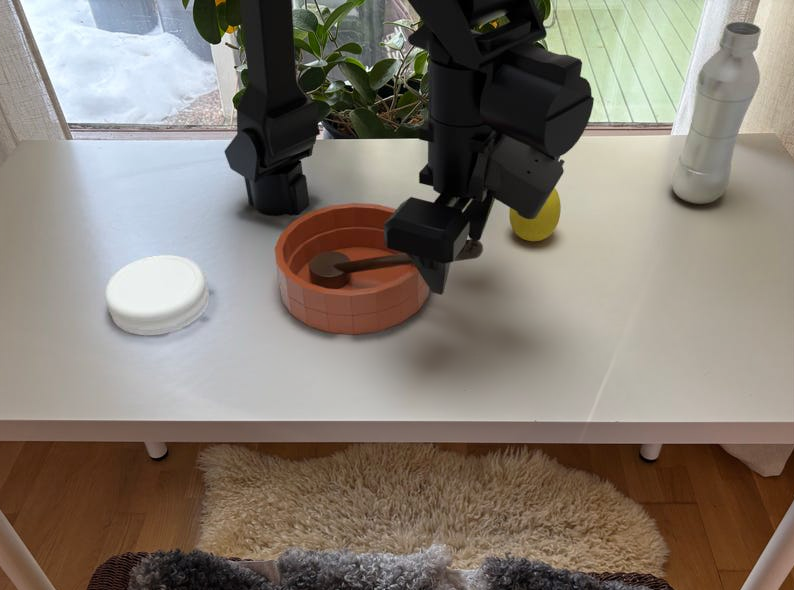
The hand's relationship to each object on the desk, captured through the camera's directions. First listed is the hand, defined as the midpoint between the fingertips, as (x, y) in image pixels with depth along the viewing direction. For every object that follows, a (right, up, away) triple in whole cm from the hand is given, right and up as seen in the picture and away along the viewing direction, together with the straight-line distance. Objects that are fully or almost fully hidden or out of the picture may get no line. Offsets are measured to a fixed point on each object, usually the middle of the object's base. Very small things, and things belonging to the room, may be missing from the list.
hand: (457, 264), depth 74 cm
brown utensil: (-6, -2, +7) cm, 9 cm away
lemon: (+9, +4, +14) cm, 18 cm away
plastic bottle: (+30, +11, +20) cm, 38 cm away
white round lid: (-30, -4, +7) cm, 31 cm away
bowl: (-10, -2, +9) cm, 13 cm away
